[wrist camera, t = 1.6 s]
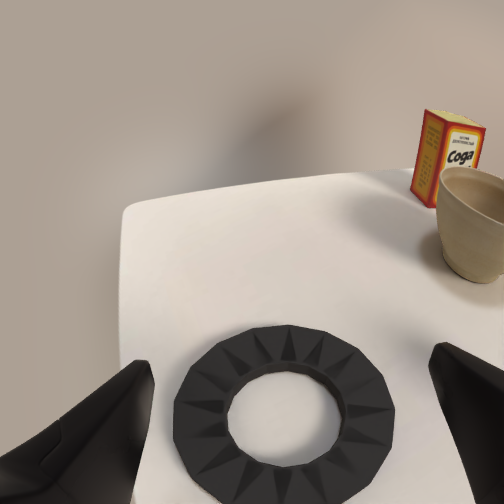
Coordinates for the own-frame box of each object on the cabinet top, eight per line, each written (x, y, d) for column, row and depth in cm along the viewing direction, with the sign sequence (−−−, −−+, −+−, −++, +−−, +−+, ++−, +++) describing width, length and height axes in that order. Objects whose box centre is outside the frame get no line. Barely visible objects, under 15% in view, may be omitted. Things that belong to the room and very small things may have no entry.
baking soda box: (447, 190, 54) (463, 114, 44) (465, 207, 49) (486, 126, 39) (410, 189, 53) (425, 107, 43) (427, 207, 48) (447, 118, 38)
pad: (425, 436, 20) (433, 429, 19) (238, 555, 14) (237, 557, 13) (312, 310, 32) (313, 300, 31) (149, 379, 26) (144, 370, 25)
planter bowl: (436, 217, 46) (452, 156, 39) (517, 259, 37) (543, 199, 30) (403, 264, 37) (425, 186, 30) (508, 322, 28) (550, 250, 21)
